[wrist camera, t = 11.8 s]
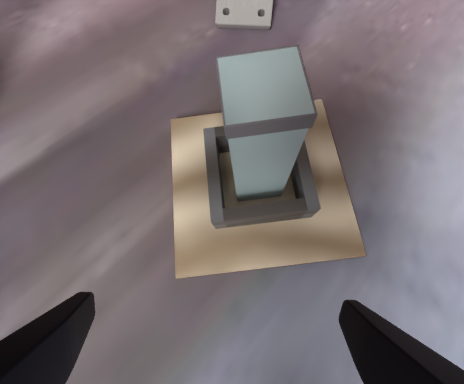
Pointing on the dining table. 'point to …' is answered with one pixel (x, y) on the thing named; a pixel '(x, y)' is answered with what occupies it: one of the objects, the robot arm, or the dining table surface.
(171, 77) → the dining table surface
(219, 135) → the post socket
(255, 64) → the rail end post
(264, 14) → the door handle
